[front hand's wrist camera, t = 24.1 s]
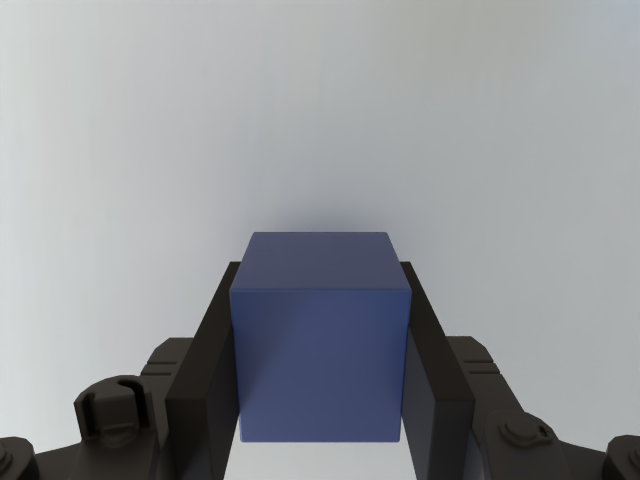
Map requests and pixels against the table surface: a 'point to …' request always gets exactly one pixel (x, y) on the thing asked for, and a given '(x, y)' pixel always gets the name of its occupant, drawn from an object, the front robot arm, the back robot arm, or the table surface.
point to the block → (320, 337)
